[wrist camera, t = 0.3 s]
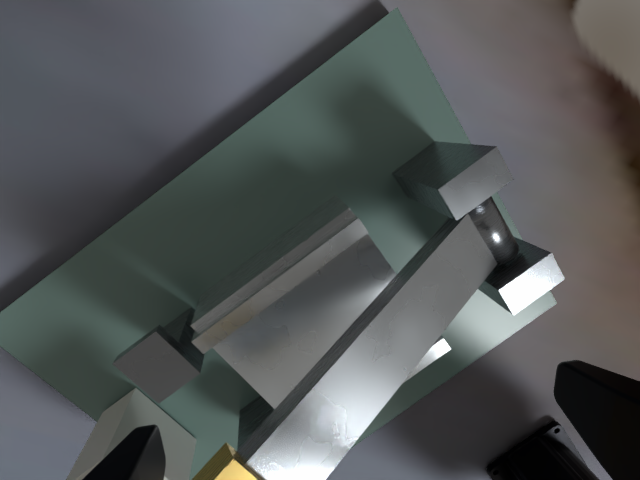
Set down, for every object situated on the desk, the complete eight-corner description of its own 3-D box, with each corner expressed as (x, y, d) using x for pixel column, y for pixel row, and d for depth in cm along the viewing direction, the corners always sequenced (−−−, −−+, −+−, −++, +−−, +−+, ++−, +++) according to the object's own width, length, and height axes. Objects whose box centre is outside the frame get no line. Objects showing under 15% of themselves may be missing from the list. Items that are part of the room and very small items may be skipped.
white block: (224, 419, 23) (213, 515, 17) (165, 462, 23) (135, 570, 17) (165, 365, 21) (131, 452, 16) (102, 412, 21) (47, 513, 16)
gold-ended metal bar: (498, 249, 19) (531, 251, 18) (226, 584, 14) (238, 633, 12) (458, 179, 18) (490, 175, 16) (136, 522, 12) (137, 568, 11)
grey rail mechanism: (506, 266, 23) (579, 308, 18) (268, 437, 24) (271, 524, 19) (416, 110, 19) (475, 104, 14) (140, 317, 20) (100, 383, 15)
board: (545, 296, 25) (556, 303, 24) (236, 515, 26) (235, 529, 26) (390, 13, 19) (397, 6, 18) (-9, 319, 20) (-22, 329, 19)
